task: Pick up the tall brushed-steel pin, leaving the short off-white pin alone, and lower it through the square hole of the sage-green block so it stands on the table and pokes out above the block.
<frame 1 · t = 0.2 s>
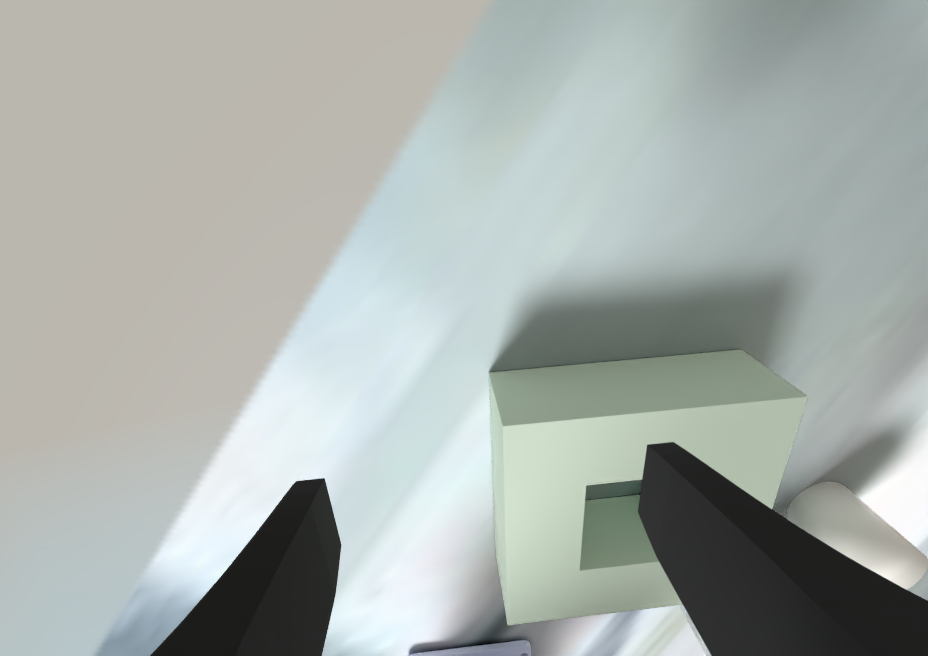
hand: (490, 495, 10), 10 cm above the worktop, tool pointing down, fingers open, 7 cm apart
hole block: (606, 461, 23), on the worktop
short pin: (817, 505, 26), on the worktop
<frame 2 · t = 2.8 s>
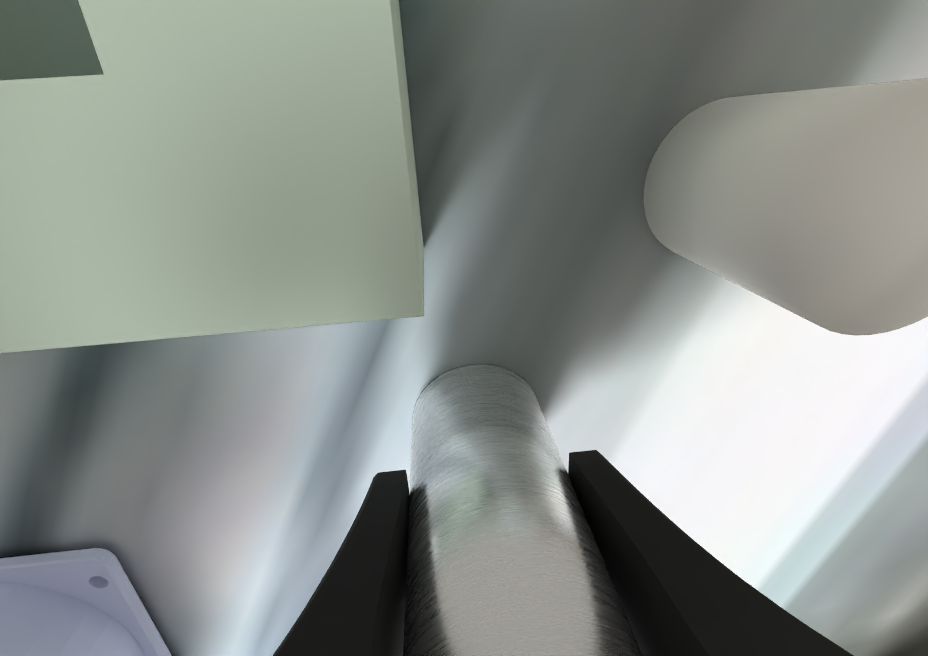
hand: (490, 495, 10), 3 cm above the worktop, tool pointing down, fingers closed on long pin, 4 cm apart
long pin: (476, 419, 13), on the worktop, touching gripper
short pin: (718, 183, 10), on the worktop
when the fingers open (5 cm above the worktop, at t = 6.2 s): long pin drops 2 cm, resting in hole block.
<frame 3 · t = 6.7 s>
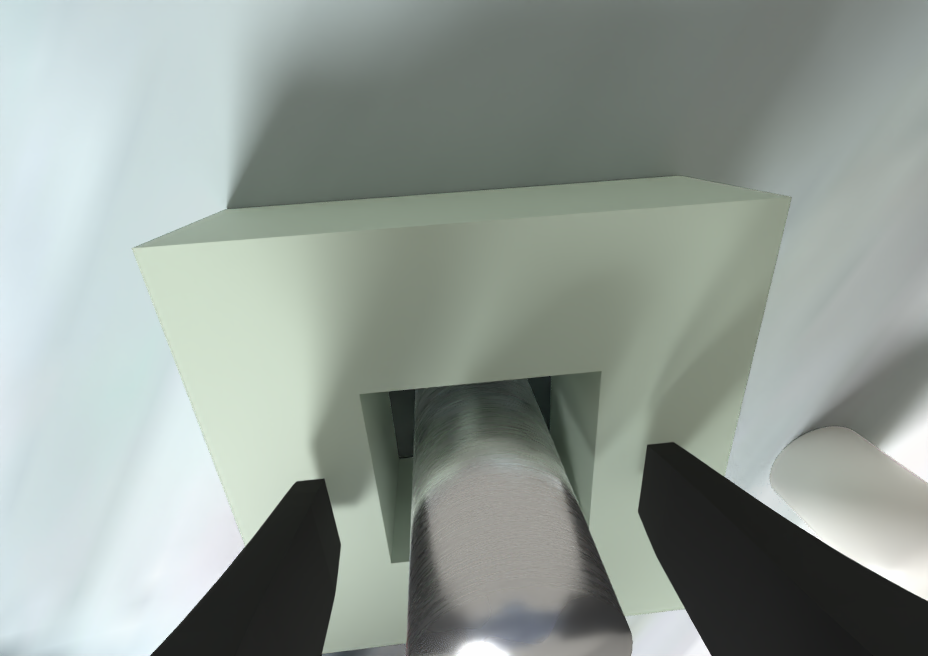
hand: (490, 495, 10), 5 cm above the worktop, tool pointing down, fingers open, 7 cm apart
hole block: (470, 386, 14), on the worktop
long pin: (471, 390, 14), resting in hole block
short pin: (816, 464, 17), on the worktop
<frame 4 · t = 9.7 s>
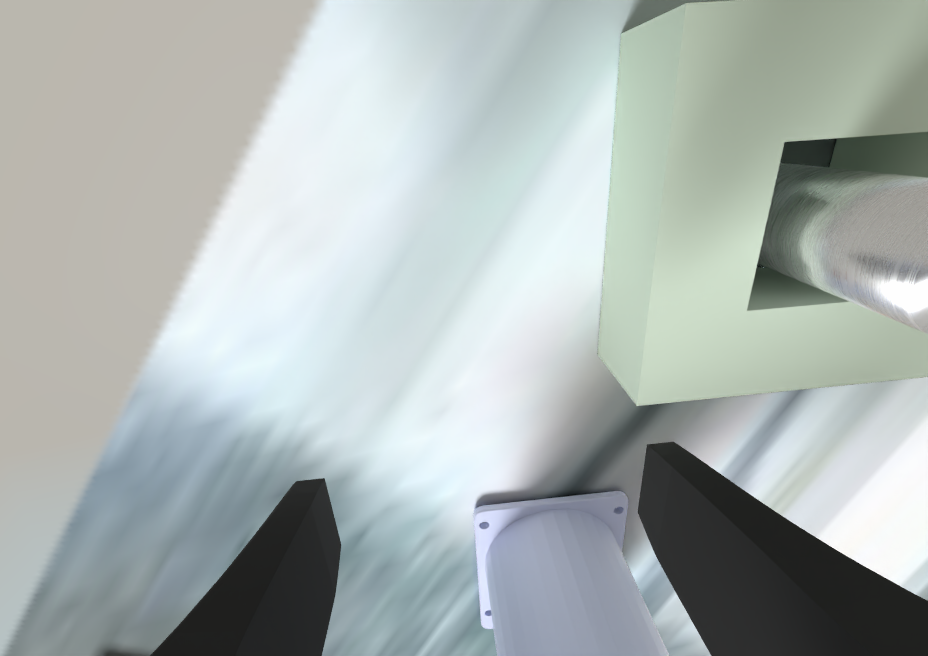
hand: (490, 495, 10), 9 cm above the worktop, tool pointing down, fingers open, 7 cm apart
hole block: (757, 205, 17), on the worktop
long pin: (756, 210, 18), resting in hole block
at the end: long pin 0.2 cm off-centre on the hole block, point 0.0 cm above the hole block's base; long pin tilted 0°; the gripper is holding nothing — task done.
